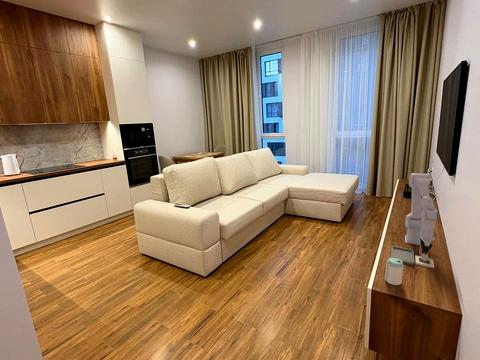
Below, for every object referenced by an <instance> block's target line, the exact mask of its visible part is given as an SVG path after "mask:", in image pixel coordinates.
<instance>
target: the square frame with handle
mask: <svg viewBox="0 0 480 360" xmlns="http://www.w3.org/2000/svg"><path fill="white" fill-rule="evenodd" d="M429 251H430V250H429ZM429 251H428V253H427V254H428V255H429ZM418 254H419V255H414V262H415V265H417V266H421V267H426V268H431V269H435V265H434V260H433V259H434V258H429V257H428V259H427V263H422V256H423V254H422V247H421V245H419V251H418ZM420 260H421V261H420ZM428 262H429V263H428Z"/></svg>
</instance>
